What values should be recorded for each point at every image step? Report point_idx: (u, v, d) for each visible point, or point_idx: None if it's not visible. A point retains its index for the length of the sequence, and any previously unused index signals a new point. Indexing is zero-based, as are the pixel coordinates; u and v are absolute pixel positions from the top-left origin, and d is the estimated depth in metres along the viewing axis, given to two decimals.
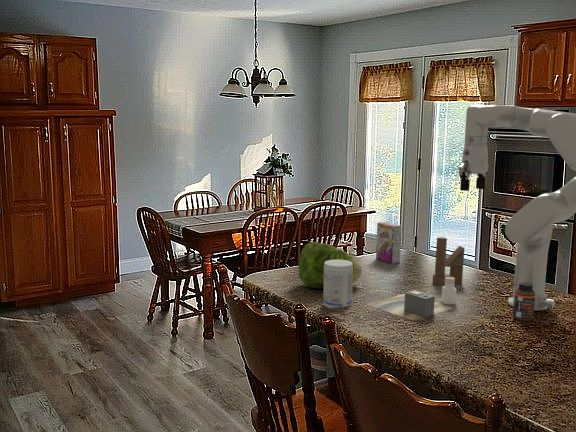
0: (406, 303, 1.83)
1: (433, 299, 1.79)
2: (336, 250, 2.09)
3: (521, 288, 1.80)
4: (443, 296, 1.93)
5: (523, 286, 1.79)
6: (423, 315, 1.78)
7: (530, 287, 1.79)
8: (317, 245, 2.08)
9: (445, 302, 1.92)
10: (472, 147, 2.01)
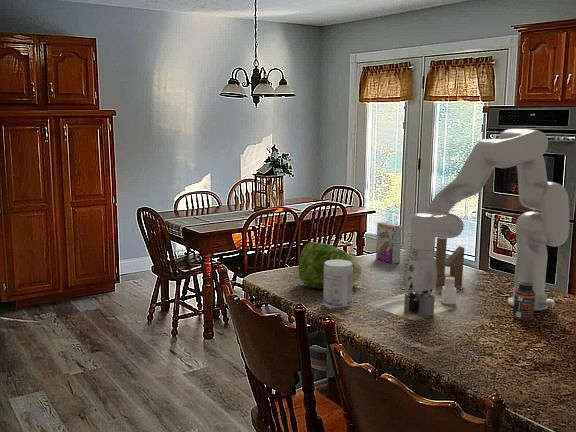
0: (406, 303, 1.83)
1: (433, 299, 1.79)
2: (336, 250, 2.09)
3: (521, 288, 1.80)
4: (443, 296, 1.93)
5: (523, 286, 1.79)
6: (423, 315, 1.78)
7: (530, 287, 1.79)
8: (317, 245, 2.08)
9: (445, 302, 1.92)
10: (417, 263, 1.75)
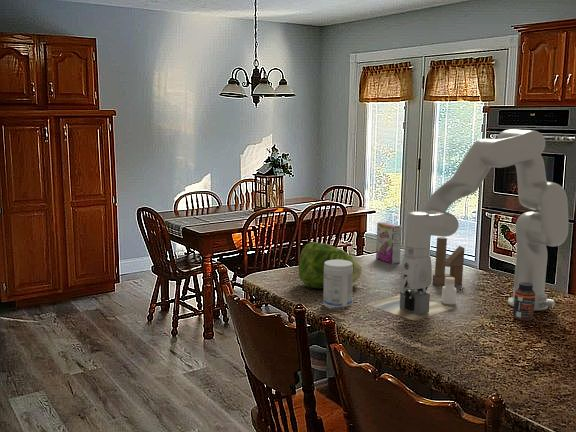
0: (401, 301, 1.84)
1: (428, 297, 1.81)
2: (336, 250, 2.09)
3: (521, 288, 1.80)
4: (443, 296, 1.93)
5: (523, 286, 1.79)
6: (418, 313, 1.79)
7: (530, 287, 1.79)
8: (317, 245, 2.08)
9: (445, 302, 1.92)
10: (412, 261, 1.77)
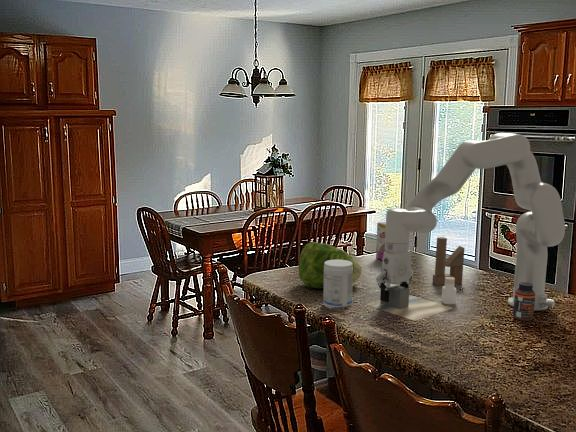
0: None
1: (408, 291, 1.87)
2: (336, 250, 2.09)
3: (521, 288, 1.80)
4: (443, 296, 1.93)
5: (523, 286, 1.79)
6: (398, 307, 1.86)
7: (530, 287, 1.79)
8: (317, 245, 2.08)
9: (445, 302, 1.92)
10: (391, 255, 1.83)
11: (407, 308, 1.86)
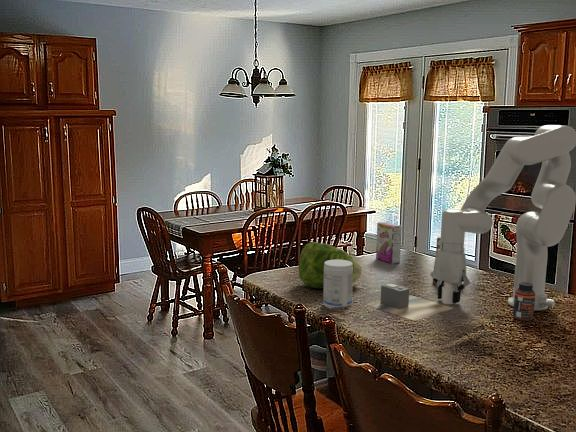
0: (382, 295, 1.90)
1: (408, 291, 1.87)
2: (336, 250, 2.09)
3: (521, 288, 1.80)
4: (443, 296, 1.93)
5: (523, 286, 1.79)
6: (398, 307, 1.86)
7: (530, 287, 1.79)
8: (317, 245, 2.08)
9: (445, 302, 1.92)
10: (437, 251, 1.93)
11: (407, 308, 1.86)
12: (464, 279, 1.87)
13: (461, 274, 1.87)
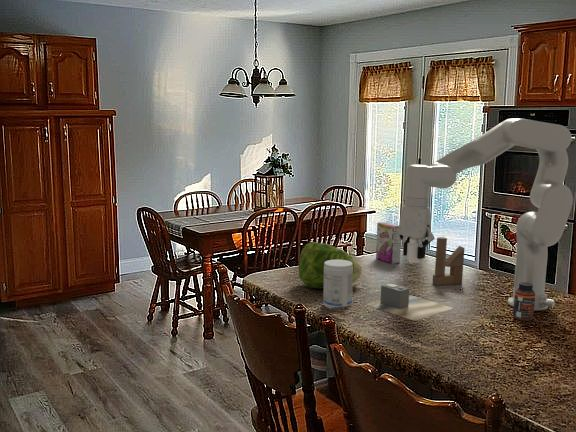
0: (382, 295, 1.90)
1: (408, 291, 1.87)
2: (336, 250, 2.09)
3: (521, 288, 1.80)
4: (408, 252, 1.92)
5: (523, 286, 1.79)
6: (398, 307, 1.86)
7: (530, 287, 1.79)
8: (317, 245, 2.08)
9: (410, 258, 1.91)
10: None
11: (407, 308, 1.86)
12: (428, 234, 1.87)
13: (425, 229, 1.87)
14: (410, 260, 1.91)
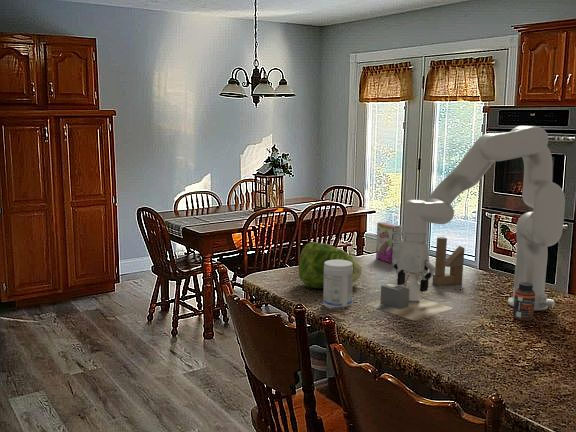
0: (382, 295, 1.90)
1: (408, 291, 1.87)
2: (336, 250, 2.09)
3: (521, 288, 1.80)
4: None
5: (523, 286, 1.79)
6: (398, 307, 1.86)
7: (530, 287, 1.79)
8: (317, 245, 2.08)
9: (409, 296, 1.93)
10: None
11: (407, 308, 1.86)
12: (429, 266, 1.88)
13: (423, 264, 1.89)
14: (409, 299, 1.93)
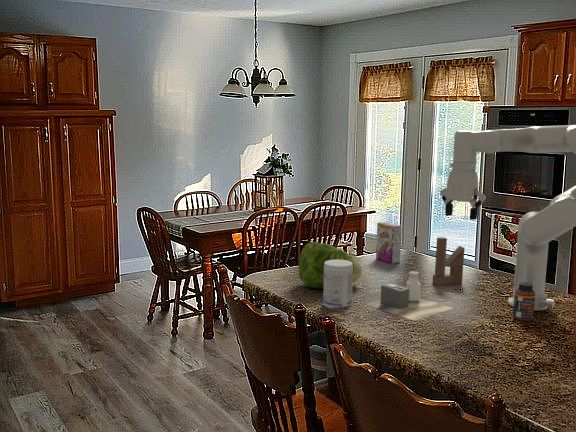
0: (382, 295, 1.90)
1: (408, 291, 1.87)
2: (336, 250, 2.09)
3: (521, 288, 1.80)
4: None
5: (523, 286, 1.79)
6: (398, 307, 1.86)
7: (530, 287, 1.79)
8: (317, 245, 2.08)
9: (409, 296, 1.93)
10: None
11: (407, 308, 1.86)
12: (479, 194, 1.92)
13: (473, 192, 1.93)
14: (409, 299, 1.93)
